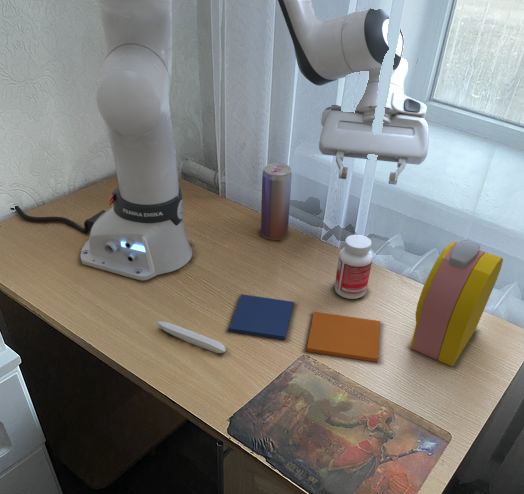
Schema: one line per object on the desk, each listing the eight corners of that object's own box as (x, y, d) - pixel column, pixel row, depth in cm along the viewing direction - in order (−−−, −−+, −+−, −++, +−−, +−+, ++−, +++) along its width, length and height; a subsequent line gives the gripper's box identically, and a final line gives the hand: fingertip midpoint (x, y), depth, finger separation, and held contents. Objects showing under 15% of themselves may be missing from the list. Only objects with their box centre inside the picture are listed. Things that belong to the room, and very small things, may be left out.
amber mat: (306, 351, 91) (306, 347, 90) (313, 314, 98) (313, 311, 97) (377, 362, 89) (378, 358, 89) (379, 324, 96) (380, 321, 96)
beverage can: (256, 237, 117) (258, 171, 106) (266, 224, 121) (269, 160, 111) (281, 243, 115) (286, 177, 105) (291, 230, 119) (296, 165, 109)
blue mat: (228, 331, 94) (228, 328, 93) (241, 297, 101) (241, 294, 100) (284, 340, 93) (285, 336, 92) (293, 305, 100) (293, 301, 99)
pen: (159, 324, 95) (158, 317, 93) (228, 351, 90) (227, 343, 89) (154, 330, 94) (153, 322, 92) (223, 356, 89) (223, 349, 88)
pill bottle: (372, 293, 103) (383, 244, 96) (348, 304, 101) (356, 254, 93) (351, 277, 107) (360, 228, 99) (327, 287, 104) (334, 237, 97)
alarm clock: (435, 308, 100) (463, 221, 88) (478, 325, 97) (513, 237, 84) (402, 352, 91) (428, 261, 79) (448, 372, 88) (483, 281, 75)
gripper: (323, 95, 100) (312, 168, 99) (435, 106, 97) (424, 180, 97) (323, 112, 106) (313, 180, 106) (429, 122, 103) (418, 192, 103)
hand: (367, 180), depth 101 cm, fingers open, 8 cm apart
